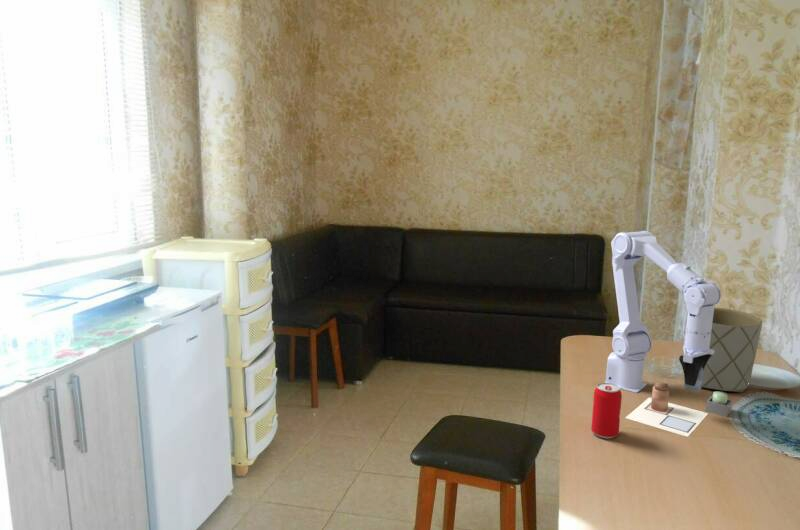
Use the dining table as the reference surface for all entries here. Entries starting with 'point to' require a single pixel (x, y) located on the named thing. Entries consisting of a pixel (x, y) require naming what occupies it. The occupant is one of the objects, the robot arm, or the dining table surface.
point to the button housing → (718, 407)
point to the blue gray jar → (698, 382)
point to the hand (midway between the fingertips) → (692, 382)
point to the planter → (731, 350)
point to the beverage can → (606, 410)
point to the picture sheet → (668, 417)
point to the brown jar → (660, 397)
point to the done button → (720, 398)
